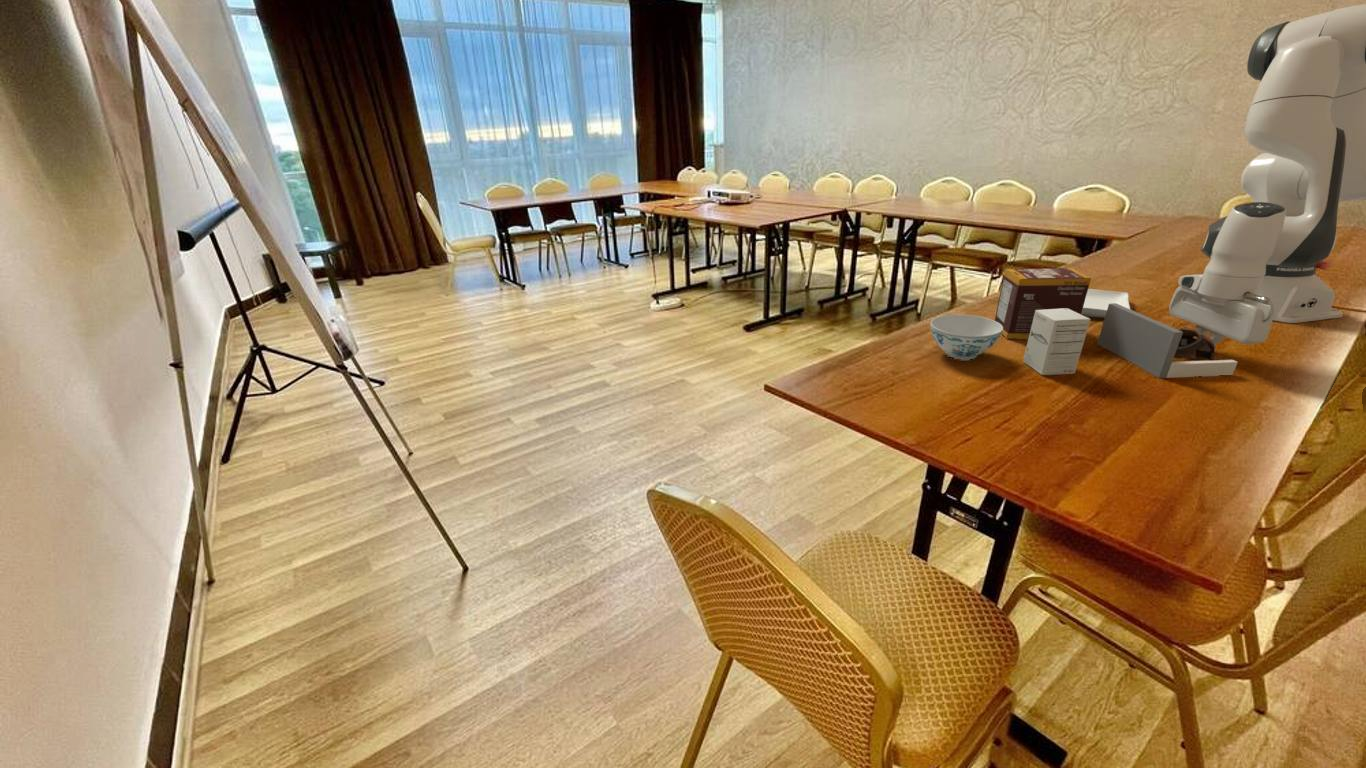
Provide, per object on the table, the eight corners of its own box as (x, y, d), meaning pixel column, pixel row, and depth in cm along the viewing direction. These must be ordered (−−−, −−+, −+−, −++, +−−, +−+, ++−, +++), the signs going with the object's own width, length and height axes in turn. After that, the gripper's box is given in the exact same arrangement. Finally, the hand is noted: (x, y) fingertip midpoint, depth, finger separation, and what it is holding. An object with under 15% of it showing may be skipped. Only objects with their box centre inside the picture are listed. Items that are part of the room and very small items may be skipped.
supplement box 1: (1075, 339, 127) (1092, 277, 121) (1006, 339, 131) (1019, 278, 124) (1057, 325, 137) (1072, 267, 130) (992, 325, 140) (1004, 268, 133)
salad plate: (1038, 294, 161) (1040, 284, 160) (1125, 302, 150) (1128, 291, 148) (1031, 314, 146) (1034, 303, 145) (1128, 325, 135) (1132, 312, 133)
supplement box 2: (1021, 362, 118) (1033, 309, 113) (1055, 360, 118) (1069, 307, 112) (1040, 375, 111) (1054, 320, 106) (1076, 374, 111) (1092, 318, 106)
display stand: (1159, 341, 123) (1173, 300, 119) (1232, 375, 106) (1252, 329, 101) (1097, 343, 124) (1109, 303, 120) (1158, 377, 107) (1175, 332, 103)
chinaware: (1004, 351, 124) (1011, 321, 121) (985, 373, 114) (992, 340, 111) (939, 339, 134) (943, 310, 130) (916, 358, 124) (920, 328, 121)
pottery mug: (1224, 374, 107) (1215, 343, 104) (1163, 384, 114) (1153, 355, 111) (1210, 341, 115) (1202, 311, 112) (1154, 352, 121) (1145, 324, 119)
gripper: (1295, 299, 98) (1264, 366, 104) (1203, 273, 116) (1182, 331, 122) (1259, 301, 98) (1230, 367, 104) (1173, 275, 117) (1153, 332, 123)
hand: (1204, 348), depth 113 cm, fingers closed
